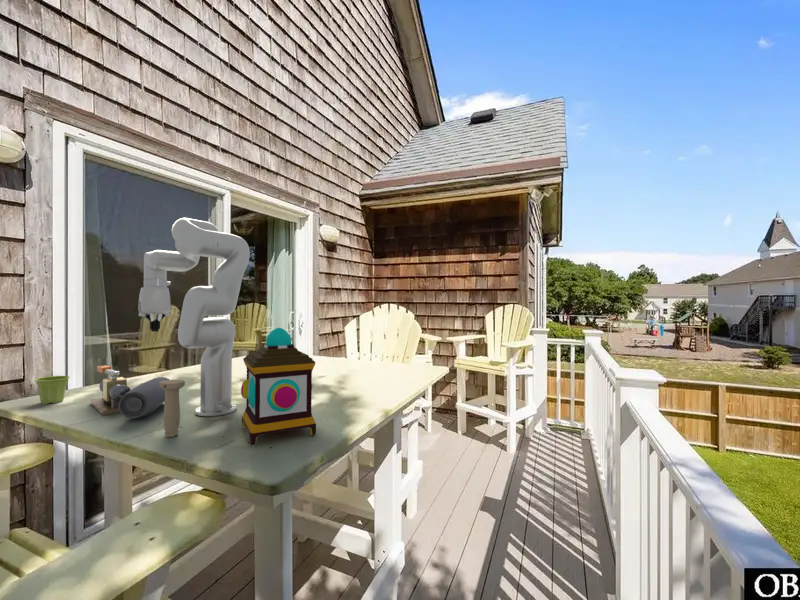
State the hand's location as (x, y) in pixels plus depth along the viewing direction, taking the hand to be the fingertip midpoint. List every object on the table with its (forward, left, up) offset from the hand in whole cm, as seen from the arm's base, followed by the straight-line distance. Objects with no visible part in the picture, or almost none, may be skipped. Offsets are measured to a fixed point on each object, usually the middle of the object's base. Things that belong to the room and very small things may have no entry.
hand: (154, 331), depth 149 cm
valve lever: (-1, +15, -14) cm, 20 cm away
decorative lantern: (-71, -12, -25) cm, 76 cm away
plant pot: (+16, +28, -25) cm, 41 cm away
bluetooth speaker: (-23, +8, -25) cm, 35 cm away
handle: (-53, +10, -25) cm, 60 cm away
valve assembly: (-7, +14, -25) cm, 30 cm away
